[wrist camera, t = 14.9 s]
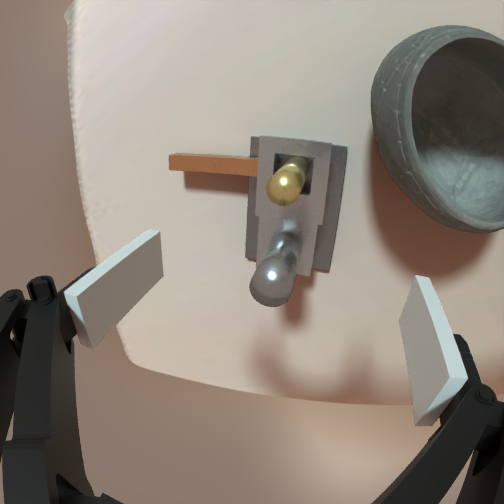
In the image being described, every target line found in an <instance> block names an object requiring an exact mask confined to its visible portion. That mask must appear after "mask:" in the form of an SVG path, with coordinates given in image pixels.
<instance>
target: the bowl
mask: <svg viewBox="0 0 504 504" xmlns="http://www.w3.org/2000/svg"><path fill="white" fill-rule="evenodd" d="M371 115H372V122H373V129H374V134H375V139H376V143H377V146H378V149H379V152H380V156H381V158H382V160H383V162H384V165H385V167H386V169H387V171H388V172H389V174H390V175H391V177H392V179H393V180H394V181H395V182H396V184H397V185H398V186H399V187H400V188H401V190H402V191H403V192H404V193H405V194H406V195H407V196H408V197H409V198H410V199H411V200H412V201H413V202H414V203H415V204H416V205H417V206H418V207H420V208H421V209H422V210H423V211H424V212H425V213H426V214H427V215H429V216H430V217H431V218H432V219H434V220H436V221H438V222H439V223H441V224H443V225H445V226H448V227H450V228H453V229H456V230H460V231H466V232H471V233H490V232H495V231H498V230H501V229H504V41H503V40H502V39H500V38H498V37H496V36H494V35H492V34H490V33H488V32H485V31H482V30H479V29H476V28H471V27H466V26H456V25H446V26H437V27H434V28H430V29H427V30H423V31H421V32H418V33H416V34H414V35H412V36H410V37H408V38H407V39H405V40H403V41H402V42H401V43H399V44H398V45H396V46H395V47H394V48H393V49H392V50H391V51H390V52H389V53H388V54H387V56H386V57H385V59H384V60H383V62H382V63H381V65H380V67H379V68H378V71H377V73H376V75H375V77H374V81H373V84H372V89H371Z"/></svg>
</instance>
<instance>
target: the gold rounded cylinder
mask: <svg viewBox="0 0 504 504" xmlns="http://www.w3.org/2000/svg"><path fill="white" fill-rule="evenodd" d="M308 172H309V166H308V163H307V162H306V160H304V159H303V158H301V157H292V158H290V159H289V160H288V161H287V162H286V163H285V164H284V165H283V166H282V167H281V168H280V169H279V170H278V171H277V172H276V173H275V174H274V175H273V176H272V177H271V178H270V179H269V180H268V182H267V185H266V193H267V196H268V198H269V199H270V200H271V201H272V202H273V203H274V204H276V205H279V206H289V205H291V204H293V203H294V202H295V201H296V200H297V199H298V197H299V194H300V192H301V189H302V187H303V184H304V182H305V180H306V177H307V175H308Z"/></svg>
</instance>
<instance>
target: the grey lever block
mask: <svg viewBox="0 0 504 504" xmlns="http://www.w3.org/2000/svg"><path fill="white" fill-rule="evenodd" d="M346 155H347V147H346V146H339V145H332V143H329V142H322V141H314V140H305V139H296V138H286V137H275V136H260V137H255V136H252V137H251V148H250V157H242V156H228V155H212V154H190V153H175V154H171V155H169V170H177V171H194V172H208V173H221V174H233V175H244V176H249V188H248V209H247V231H246V253H245V258H249V259H256V268H257V269H256V271H255V273H254V275H253V277H252V279H251V281H250V292H251V294H252V296H253V298H254V299H255V300H256V301H257V302H259V303H260V304H262V305H265V306H268V307H277V306H281V305H283V304H284V303H286V302H287V301H288V300H289V298H290V296H291V292H292V288H293V284H294V280H295V276H296V275H303V276H309V277H310V274H311V268H313V269H320V270H326V271H329V268H330V263H331V257H332V252H333V246H334V240H335V234H336V228H337V222H338V215H339V209H340V202H341V195H342V187H343V180H344V172H345V164H346ZM292 157H301V158H303V159H304V160H306V162H307V163H308V166H309V172H308V175H307V177H306V180H305V182H304V184H303V187H302V189H301V192H300V194H299V197H298V199H297V200H296V201H295V202H294V203H293V204H291V205H289V206H279V205H276V204H274V203H273V202H272V201H271V200H270V199H269V198H268V196H267V193H266V185H267V182H268V180H269V179H270V178H271V177H272V176H273V175H274V174H275V173H276V172H277V171H278V170H279V169H280V168H281V167H282V166H283V165H284V164H285V163H286V162H287V161H288V160H289V159H290V158H292Z"/></svg>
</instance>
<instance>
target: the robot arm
mask: <svg viewBox="0 0 504 504" xmlns="http://www.w3.org/2000/svg"><path fill="white" fill-rule="evenodd" d="M163 276H164V275H163V264H162V251H161V237H160V231H155V230H149V229H148V230H147V231H145V232H144V233H142V234H141V235H139V236H138V237H137V238H135V239H134V240H132V241H131V242H129V243H128V244H127V245H125V246H124V247H122V248H121V249H120V250H118V251H117V252H115V253H114V254H113V255H111V256H110V257H109V258H107V259H106V260H105V261H103V262H102V263H101V264H99V265H98V266H95V267H93V268H90V269H88V270H87V271H85V272H84V273H83V274H81V276H79V277H77V278H76V279H75V281H72V282H71V283H70V284H68V285H67V286H66V287H64V288H63V289H62V290H60V291H59V292H58V293H57V291H56V287H55V284H54V280H53V278H52V277H51V276H39V277H36V278H34V279H32V280H31V281H30V282H28V284H27V289H28V292H29V295H30V298H31V300H25V298H24V296H23V293H22V291H21V290H19V289H14V290H13V289H12V290H9V291H7V292H6V293H4V294H3V295H2V296H1V297H0V462H1V457H2V468H3V469H2V470H3V490H4V502H5V504H123V503H121V502H119V501H117V500H115V499H113V498H111V497H110V496H108V495H106V494H104V493H102V495H101V497H96V496H94V493H93V490H92V487H91V486H90V484H89V482H88V480H87V477H86V474H85V470H84V464H83V458H82V451H81V445H80V437H79V428H78V418H77V407H76V394H75V393H76V392H75V372H74V371H75V367H74V342H73V339H72V338H73V337H74V336H75V335H76V334H77V335H78V338H79V341H80V343H81V344H82V345H84V346H86V347H89V348H91V349H94V348H95V347H96V346H97V345H98V344H99V343H100V342H101V341H102V339H103V338H104V337H105V336H106V335H107V334H108V333H109V332H110V331H111V330H112V329H113V328H114V327H115V326H116V325H117V323H118V322H119V321H120V320H121V319H122V318H123V317H124V316H125V315H126V314H127V313H128V312H129V311H130V310H131V309H132V308H133V307H134V306H135V305H136V304H137V303H138V302H139V301H140V299H141V298H142V297H143V296H144V295H145V294H146V293H147V292H148V291H149V290H150V289H151V288H152V287H153V286H154V285H155V284H156V283H157V282H158V281H159V280H160V279H161V278H162V277H163ZM399 324H400V329H401V334H402V339H403V345H404V350H405V356H406V362H407V368H408V374H409V381H410V388H411V395H412V403H413V411H414V422H415V426H432V425H433V424H434V423H435V422H436V421H437V419H438V418H439V417H440V423H441V426H440V427H439V428H438V429H437V430H436V432H435V433H434V434H433V435H432V436H431V437H430V438H429V439H428V442H427V444H426V445H425V446H424V447H423V449H422V450H421V451H420V452H419V453H418V455H417V456H416V457H415V458H414V460H413V461H412V462H411V463H410V464H409V465H408V466H407V467H406V469H405V470H404V471H403V472H402V473H401V474H400V475H399V477H397V479H396V480H395V481H394V482H393V483H392V484H391V485H390V486H389V487H388V488H387V489H386V490H385V491H384V492H383V493H382V494H381V495H380V496H379V497H378V498H377V499H376V500H375V501H374V502H373V503H372V504H439V502H440V501H441V499H442V498H443V497H444V496H445V494H446V493H447V491H448V490H449V488H450V487H451V486H452V484H453V482H454V481H455V480H456V478H457V476H458V475H459V474H460V472H461V470H462V469H463V467H464V466H465V464H466V462H467V461H468V459H469V457H470V456H471V454H472V452H473V455H472V458H471V462H470V465H469V468H468V471H467V474H466V477H465V481H464V483H463V486H462V489H461V491H460V494H459V497H458V499H457V502H456V504H504V402H500V401H497V398H496V395H495V393H494V391H493V390H492V389H491V388H490V387H489V386H487V385H484V384H482V383H481V380H480V377H479V374H478V371H477V368H476V366H475V363H474V361H473V357H472V355H471V353H470V350H469V347H468V344H467V342H466V341H465V340H464V339H463V338H462V336H461V335H458V334H453V333H452V331H451V328H450V326H449V323H448V320H447V318H446V316H445V313H444V311H443V308H442V306H441V304H440V301H439V299H438V297H437V294H436V292H435V290H434V288H433V285H432V283H431V281H430V279H429V277H423V276H418V275H415V277H414V280H413V283H412V286H411V289H410V292H409V295H408V297H407V300H406V303H405V306H404V308H403V311H402V313H401V316H400V319H399ZM11 331H12V333H13V335H14V337H13V339H12V340H11V338H10V333H11ZM13 412H14V420H13V438H12V440H11V441H6V437H7V433H8V429H9V426H10V422H11V419H12V415H13ZM473 450H474V451H473Z"/></svg>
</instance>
